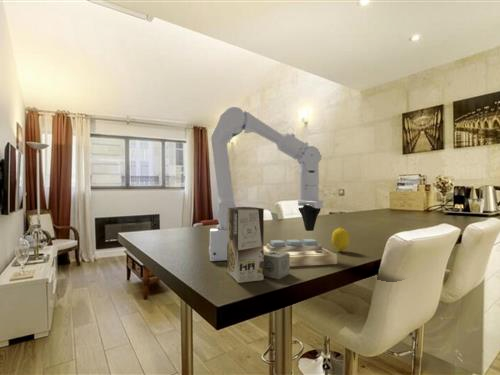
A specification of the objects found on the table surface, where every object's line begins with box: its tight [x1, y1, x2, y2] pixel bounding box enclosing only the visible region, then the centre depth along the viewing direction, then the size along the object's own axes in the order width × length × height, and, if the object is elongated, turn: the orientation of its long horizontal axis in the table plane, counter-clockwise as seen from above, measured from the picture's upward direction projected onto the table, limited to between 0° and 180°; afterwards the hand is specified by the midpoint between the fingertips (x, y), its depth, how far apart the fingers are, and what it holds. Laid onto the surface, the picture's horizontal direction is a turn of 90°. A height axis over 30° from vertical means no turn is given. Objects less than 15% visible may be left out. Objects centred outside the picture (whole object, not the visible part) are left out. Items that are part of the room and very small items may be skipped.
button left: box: [269, 239, 286, 247], centre depth 80 cm, size 4×4×2 cm
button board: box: [264, 243, 338, 267], centre depth 79 cm, size 18×15×4 cm
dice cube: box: [264, 251, 290, 280], centre depth 64 cm, size 5×5×5 cm
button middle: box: [285, 239, 302, 246], centre depth 81 cm, size 4×4×2 cm
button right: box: [301, 238, 318, 246], centre depth 82 cm, size 4×4×2 cm
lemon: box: [331, 227, 350, 253], centre depth 88 cm, size 6×6×8 cm
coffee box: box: [226, 206, 265, 284], centre depth 63 cm, size 9×6×16 cm
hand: (309, 230), depth 82 cm, fingers closed
